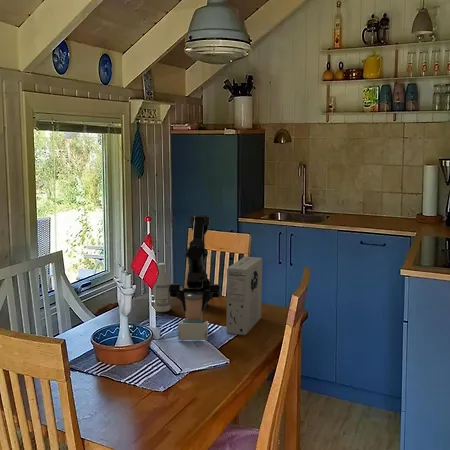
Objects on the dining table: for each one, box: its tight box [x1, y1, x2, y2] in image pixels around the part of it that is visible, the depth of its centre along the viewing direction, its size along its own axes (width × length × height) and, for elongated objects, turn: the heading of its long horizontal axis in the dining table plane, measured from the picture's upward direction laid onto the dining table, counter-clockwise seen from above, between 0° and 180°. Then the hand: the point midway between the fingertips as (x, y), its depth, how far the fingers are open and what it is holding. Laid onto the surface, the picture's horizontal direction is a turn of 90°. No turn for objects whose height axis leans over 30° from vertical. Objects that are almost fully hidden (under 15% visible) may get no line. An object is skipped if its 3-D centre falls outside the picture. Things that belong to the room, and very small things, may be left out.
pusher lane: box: [177, 320, 209, 342], centre depth 202 cm, size 12×10×6 cm
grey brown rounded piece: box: [184, 292, 203, 320], centre depth 203 cm, size 7×7×12 cm
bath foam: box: [152, 262, 171, 313], centre depth 231 cm, size 7×7×20 cm
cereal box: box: [226, 256, 263, 336], centre depth 212 cm, size 22×8×25 cm, turn 160°
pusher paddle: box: [182, 319, 205, 323], centre depth 199 cm, size 2×7×5 cm, turn 89°
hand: (193, 311), depth 201 cm, fingers closed on grey brown rounded piece, 6 cm apart
